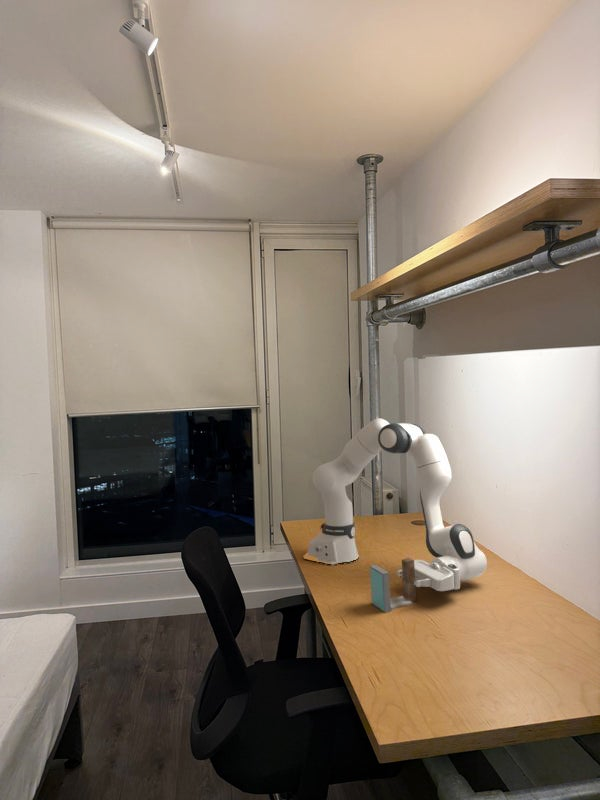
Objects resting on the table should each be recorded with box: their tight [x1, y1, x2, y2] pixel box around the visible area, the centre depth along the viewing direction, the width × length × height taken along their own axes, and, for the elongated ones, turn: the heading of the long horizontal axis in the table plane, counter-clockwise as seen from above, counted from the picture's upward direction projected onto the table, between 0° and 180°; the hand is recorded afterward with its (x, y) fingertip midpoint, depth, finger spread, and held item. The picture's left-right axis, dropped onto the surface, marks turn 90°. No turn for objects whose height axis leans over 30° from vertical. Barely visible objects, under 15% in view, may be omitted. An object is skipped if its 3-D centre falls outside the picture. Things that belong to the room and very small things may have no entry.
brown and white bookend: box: [390, 557, 417, 610], centre depth 177 cm, size 10×6×13 cm, turn 113°
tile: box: [369, 564, 392, 613], centre depth 175 cm, size 2×8×12 cm, turn 23°
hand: (406, 578), depth 178 cm, fingers open, 8 cm apart
